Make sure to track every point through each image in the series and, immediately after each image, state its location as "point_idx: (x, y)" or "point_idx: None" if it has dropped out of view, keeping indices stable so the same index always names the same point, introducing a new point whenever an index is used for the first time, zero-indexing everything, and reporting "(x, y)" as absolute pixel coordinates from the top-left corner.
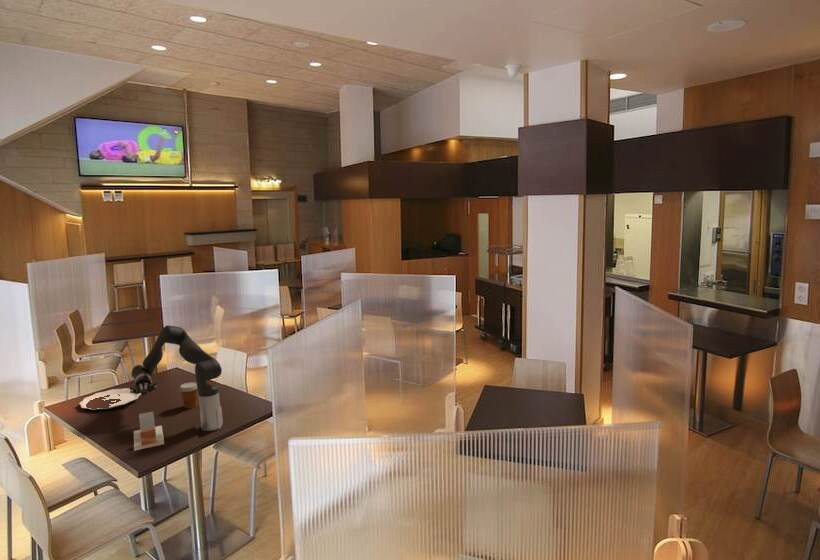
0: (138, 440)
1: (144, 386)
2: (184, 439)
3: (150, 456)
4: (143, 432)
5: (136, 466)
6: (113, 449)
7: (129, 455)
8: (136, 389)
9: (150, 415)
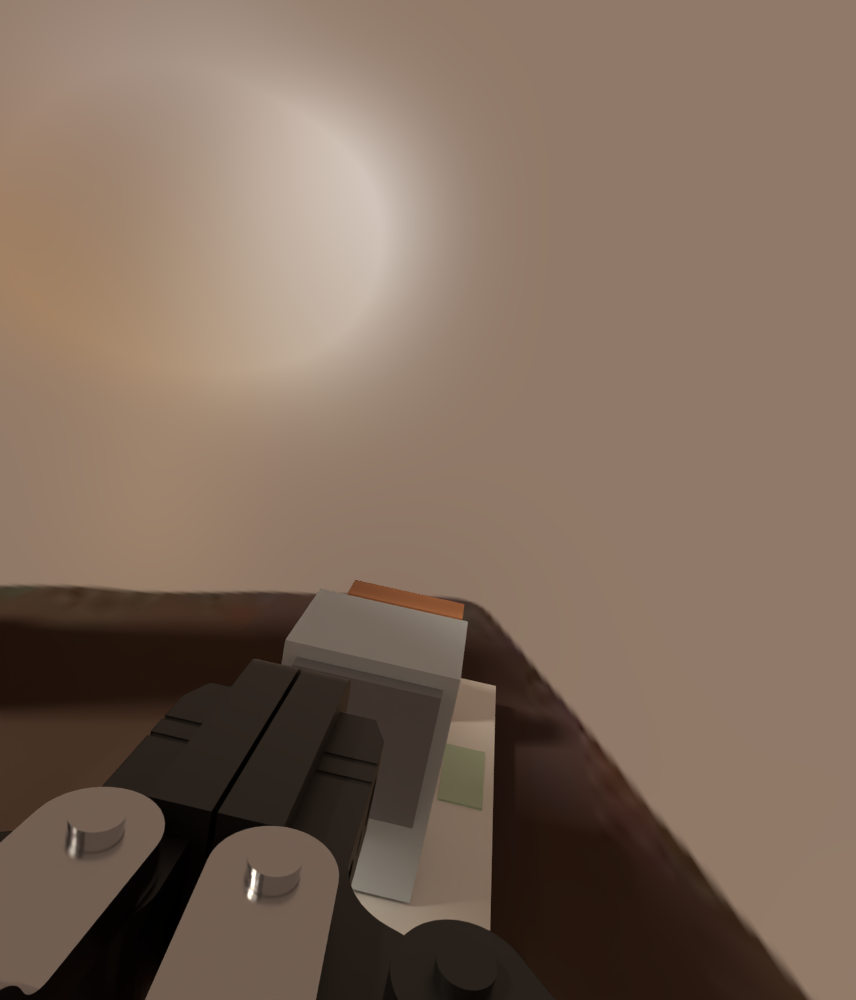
0: (455, 769)
1: (13, 981)
2: (136, 659)
3: None
4: (440, 601)
5: (485, 624)
6: (655, 845)
7: (521, 711)
8: (528, 973)
9: (351, 598)
